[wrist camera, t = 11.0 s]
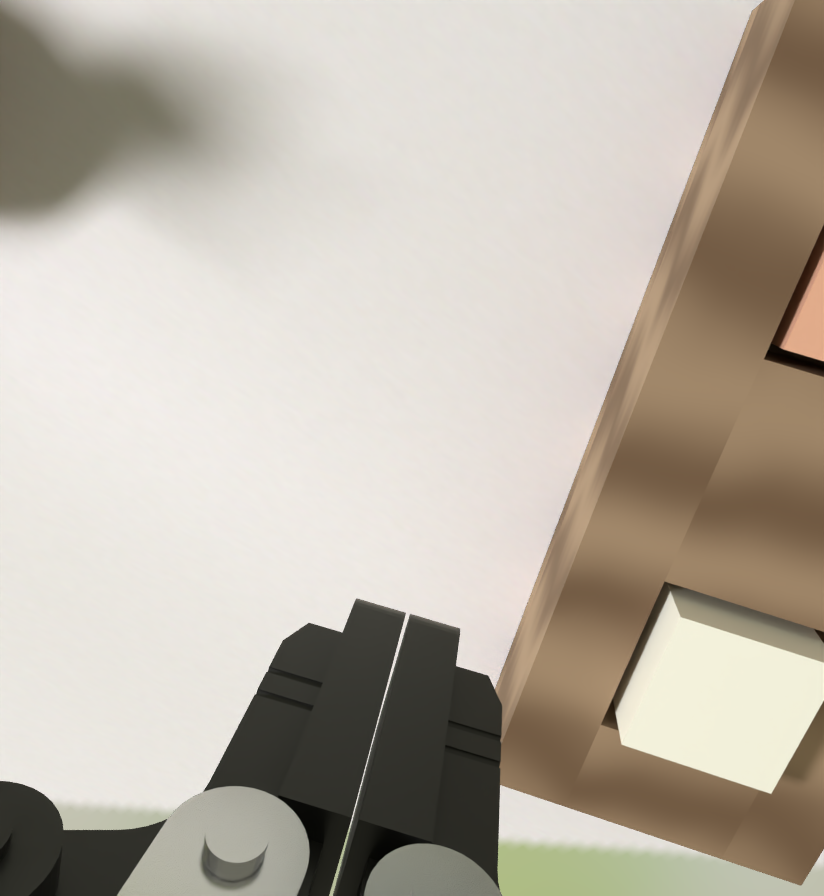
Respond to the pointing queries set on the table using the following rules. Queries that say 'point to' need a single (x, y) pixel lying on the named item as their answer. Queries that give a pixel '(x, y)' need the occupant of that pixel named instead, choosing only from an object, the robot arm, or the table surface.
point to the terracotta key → (806, 310)
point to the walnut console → (696, 478)
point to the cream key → (720, 687)
